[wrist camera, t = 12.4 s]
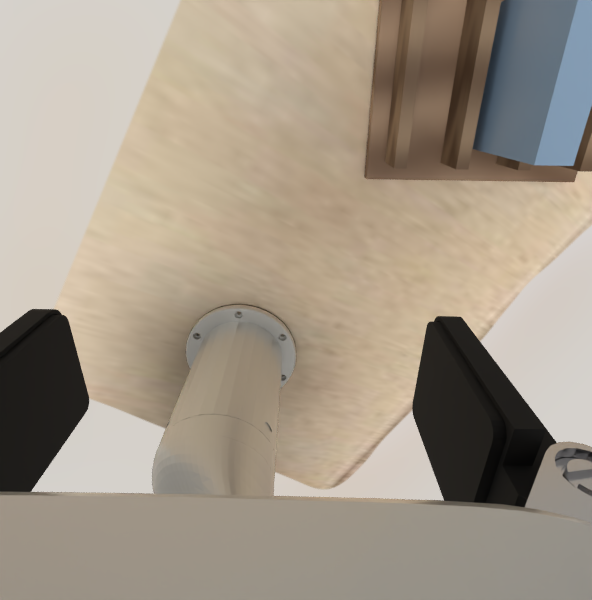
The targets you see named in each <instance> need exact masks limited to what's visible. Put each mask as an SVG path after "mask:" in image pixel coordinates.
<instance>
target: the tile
mask: <svg viewBox="0 0 592 600" xmlns="http://www.w3.org/2000/svg"><path fill="white" fill-rule="evenodd" d="M591 106H592V0H504V1H502V2H501V5H500V10H499V15H498V20H497V25H496V31H495V36H494V41H493V46H492V51H491V56H490V61H489V66H488V71H487V77H486V82H485V87H484V92H483V97H482V102H481V107H480V112H479V117H478V123H477V128H476V133H475V138H474V143H473V148H472V149H474V150H478V151H482V152H486V153H489V154H493V155H497V156H501V157H505V158H508V159H512V160H516V161H520V162H524V163H527V164H531V165H548V166H573V165H574V162H575V159H576V155H577V152H578V149H579V146H580V142H581V139H582V136H583V133H584V129H585V126H586V123H587V119H588V116H589V113H590V110H591Z"/></svg>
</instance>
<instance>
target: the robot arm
mask: <svg viewBox="0 0 592 600" xmlns="http://www.w3.org/2000/svg"><path fill="white" fill-rule="evenodd" d="M238 311H239V312H241V313H238ZM198 333H199V334H198ZM281 334H284V335H281ZM186 358H187V362H188V365H189V368H190V371H189V374H188V376H187V379H186V381H185V384H184V386H183V388H182V391H181V393H180V396H179V398H178V400H177V403H176V405H175V408H174V410H173V413H172V415H171V417H170V420H169V422H168V425H167V427H166V430H165V432H164V435H163V437H162V440H161V442H160V445H159V447H158V450H157V452H156V455H155V459H154V464H153V469H152V485H153V491H154V494H142V493H74V492H31V491H32V489H33V488H34V486H35V485H36V483H37V482H38V480H39V479H40V477H41V476H42V475H43V473H44V472H45V470H46V469H47V468H48V466H49V464H50V463H51V462H52V460H53V459H54V457H55V456H56V455H57V453H58V452H59V450H60V449H61V447H62V446H63V444H64V443H65V441H66V440H67V439H68V437H69V436H70V434H71V433H72V432H73V430H74V429H75V427H76V426H77V424H78V423H79V421H80V420H81V419H82V417H83V416H84V414H85V412H86V411H87V409H88V405H89V396H88V392H87V388H86V385H85V381H84V377H83V373H82V370H81V366H80V362H79V358H78V355H77V351H76V347H75V344H74V340H73V336H72V332H71V329H70V325H69V321H68V319H67V317H66V316H64V315H62V314H61V313H60V312H59V311H58V310H53V309H50V310H49V309H32V310H30V311H28V312H27V313H26V314H24V315H23V316H22V317H20V318H19V319H18V320H16V321H15V322H14V323H12V324H11V325H10V326H8V327H7V328H6V329H4V330H3V331H2V332H1V333H0V600H592V447H590V446H587V445H584V444H580V443H574V442H559V443H556V441H555V440H554V439H553V437H552V436H551V435H550V433H549V432H548V431H547V429H546V428H545V427H544V425H543V424H542V423H541V421H540V420H539V419H538V417H537V416H536V415H535V413H534V412H533V411H532V409H531V408H530V407H529V406H528V404H527V403H526V402H525V401H524V399H523V398H522V396H521V395H520V394H519V392H518V391H517V390H516V388H515V387H514V386H513V385H512V383H511V382H510V381H509V379H508V378H507V377H506V375H505V374H504V373H503V371H502V370H501V369H500V367H499V366H498V365H497V364H496V362H495V361H494V360H493V358H492V357H491V356H490V354H489V353H488V352H487V350H486V349H485V348H484V346H483V345H482V344H481V342H480V341H479V340H478V339H477V337H476V336H475V335H474V333H473V332H472V331H471V329H470V328H469V327H468V325H467V324H466V323H465V321H464V320H463V319H462V318H461V317H446V316H437V317H436V319H435V321H434V322H429V323H428V325H427V329H426V334H425V340H424V345H423V350H422V356H421V361H420V367H419V372H418V378H417V383H416V388H415V394H414V399H413V415H414V419H415V422H416V425H417V427H418V430H419V433H420V436H421V438H422V441H423V444H424V446H425V449H426V452H427V454H428V457H429V460H430V463H431V465H432V468H433V471H434V474H435V476H436V479H437V482H438V485H439V487H440V490H441V493H442V496H443V498H444V501H440V500H405V499H380V498H378V499H377V498H338V497H337V498H336V497H295V496H294V497H293V496H274V495H273V494H274V476H275V460H276V445H277V431H278V416H279V401H280V388H281V387H282V386H283V385H284V384H285V383H286V382H287V381H288V380H289V378H290V377H291V375H292V373H293V370H294V368H295V362H296V348H295V343H294V340H293V337H292V335H291V333H290V331H289V330H288V329H287V327H286V326H285V325H284V324H283V323H282V322H281V321H280V320H279V319H278V318H277V317H275V316H274V315H272V314H270V313H269V312H267V311H265V310H262V309H260V308H257V307H252V306H248V305H230V306H224V307H221V308H217V309H215V310H213V311H211V312H209V313H207V314H206V315H204V316H203V317H202V318H201V319H199V321H198V322H197V323H196V324H195V326H194V327H193V329H192V331H191V333H190V334H189V337H188V340H187V343H186Z"/></svg>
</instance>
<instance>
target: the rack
mask: <svg viewBox="0 0 592 600" xmlns="http://www.w3.org/2000/svg"><path fill="white" fill-rule="evenodd" d="M502 1H504V0H380V4H379V16H378V27H377V39H376V50H375V62H374V74H373V85H372V97H371V108H370V120H369V132H368V143H367V155H366V167H365V178H366V179H405V180H472V181H539V182H574V181H575V178H576V174H577V171H592V106H591V110H590V113H589V116H588V119H587V123H586V126H585V129H584V133H583V136H582V139H581V142H580V146H579V149H578V152H577V155H576V159H575V162H574V165H573V166H548V165H531V164H527V163H524V162H520V161H516V160H512V159H508V158H505V157H501V156H497V155H493V154H489V153H486V152H482V151H478V150H474V149H472V148H473V143H474V138H475V133H476V128H477V123H478V117H479V112H480V107H481V102H482V97H483V92H484V87H485V82H486V77H487V71H488V66H489V61H490V56H491V51H492V46H493V41H494V36H495V31H496V25H497V20H498V15H499V10H500V5H501V2H502Z"/></svg>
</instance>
